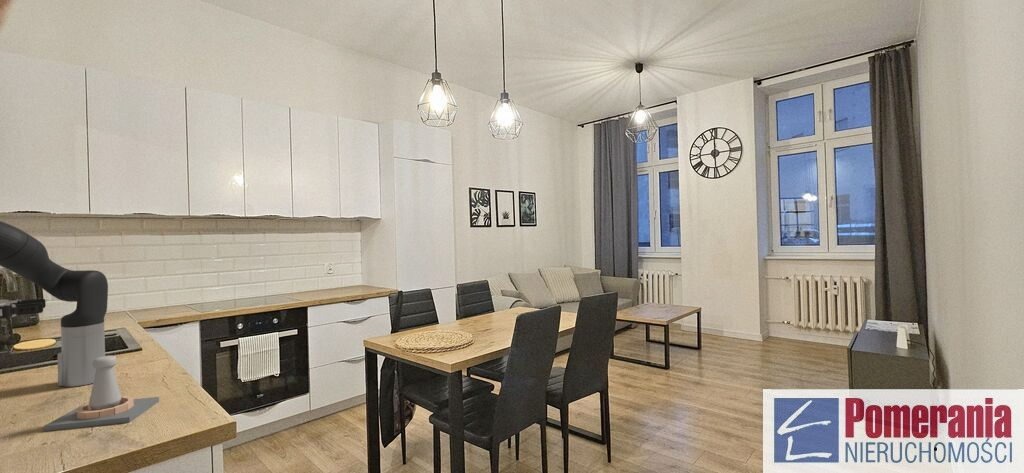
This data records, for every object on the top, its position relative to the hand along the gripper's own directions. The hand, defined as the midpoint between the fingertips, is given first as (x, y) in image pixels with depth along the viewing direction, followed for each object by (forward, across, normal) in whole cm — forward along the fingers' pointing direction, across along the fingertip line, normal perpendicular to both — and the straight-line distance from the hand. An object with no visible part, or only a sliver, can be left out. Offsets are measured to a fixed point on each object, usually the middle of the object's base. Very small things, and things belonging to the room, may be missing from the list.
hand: (44, 305), depth 98 cm
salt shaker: (+10, 0, +27) cm, 29 cm away
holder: (+10, 0, +28) cm, 30 cm away
